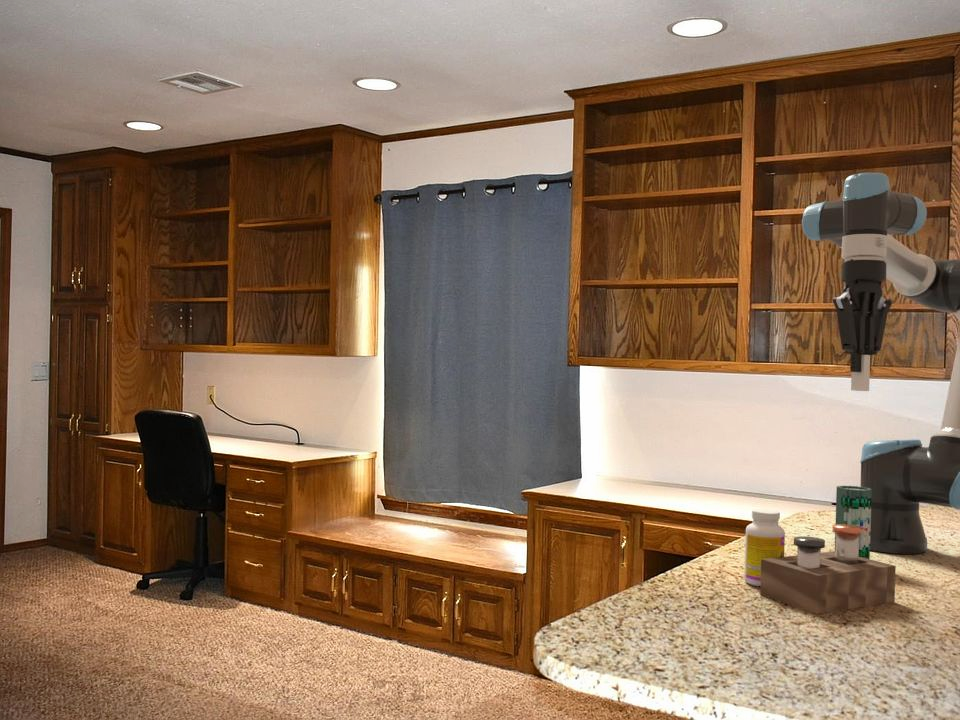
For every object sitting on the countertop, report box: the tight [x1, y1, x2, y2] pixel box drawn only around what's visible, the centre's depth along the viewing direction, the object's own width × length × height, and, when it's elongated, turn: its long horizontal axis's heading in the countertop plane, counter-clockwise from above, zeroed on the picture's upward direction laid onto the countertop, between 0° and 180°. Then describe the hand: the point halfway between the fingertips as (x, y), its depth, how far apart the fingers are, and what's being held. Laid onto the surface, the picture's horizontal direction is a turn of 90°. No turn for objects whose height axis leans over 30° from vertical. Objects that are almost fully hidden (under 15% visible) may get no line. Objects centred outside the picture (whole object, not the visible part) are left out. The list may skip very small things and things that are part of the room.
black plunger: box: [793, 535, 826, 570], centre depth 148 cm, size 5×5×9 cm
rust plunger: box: [831, 523, 863, 565], centre depth 153 cm, size 5×5×9 cm
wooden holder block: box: [759, 550, 897, 615], centre depth 150 cm, size 18×12×6 cm, turn 118°
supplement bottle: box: [743, 508, 786, 588], centre depth 159 cm, size 7×7×13 cm
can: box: [834, 485, 872, 560], centre depth 176 cm, size 6×6×15 cm
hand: (860, 390), depth 163 cm, fingers closed
